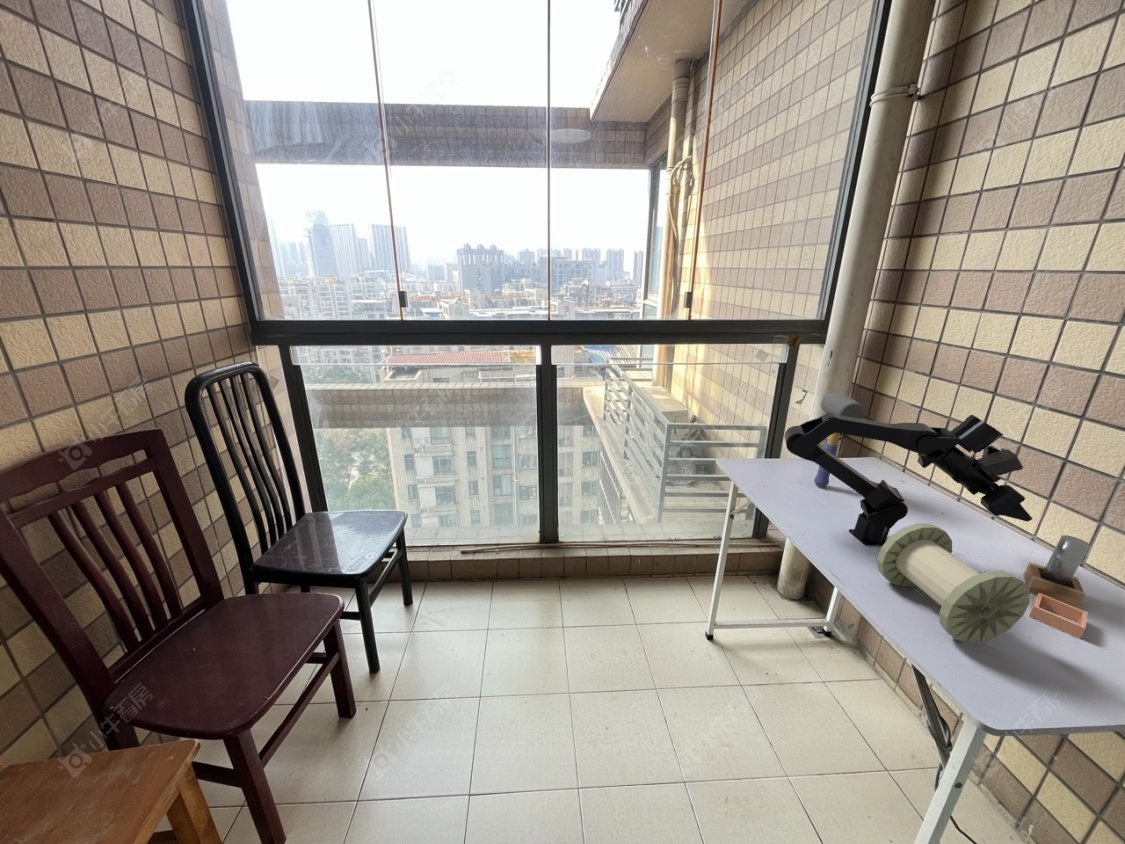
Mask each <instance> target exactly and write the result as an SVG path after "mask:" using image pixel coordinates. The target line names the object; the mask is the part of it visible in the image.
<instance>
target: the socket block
mask: <svg viewBox="0 0 1125 844" xmlns="http://www.w3.org/2000/svg"><path fill="white" fill-rule="evenodd" d="M1088 614H1089V612H1087V611H1086V610H1082V609H1080V608H1075V607H1073V606H1070V605H1068V604H1066V603H1063V602H1061V601H1058V600H1056V599H1053V598H1051V597H1048V596H1046V595H1044V594H1041V593H1038V595H1036V597H1035V598H1034V601H1033V603H1032V606H1031V609H1030V612H1029V614H1028V615H1029V616H1028V617H1029V618H1031V619H1034V620H1036V621H1038V622H1041V623H1043V624H1045V625H1047V626H1050V627H1052V628H1054V629H1056V630H1058V631H1061V632H1063V633H1066V634H1068V635H1070V636H1073V638H1074V637H1075V638H1077V639H1081V637H1082V635H1083V633H1084V632H1085V630H1086V627H1087V620H1088Z"/></svg>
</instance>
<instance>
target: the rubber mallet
mask: <svg viewBox="0 0 1125 844" xmlns="http://www.w3.org/2000/svg"><path fill="white" fill-rule="evenodd" d="M820 406H821V409H822V410H823V412H825V414H827V413H834V414H836V415H841V416H847V417H853V418H859V419H864V418H863V417H864V416H865V408H864V406H863V405H862V404H860V403H859V402H858V401H856V400H855V399H854V398H852V397H850V396H848V395H846V394H844V393H840V392H837V391H833V392H832V391H831V392H828V393H827V394H825V395H824V396H823V397H822V398H821V401H820ZM840 434H841V433H833V434H831V435H830V436H828V439H827V441H826V443H825V445H824V446H823V448H825V449H826V450H827V451H829V452H830V453H832V454H833V455H835V456H836V457H837V451H838V442H839V438H840ZM830 475H831V473H829V472H828V471H826V470H825V469H823V468H822V467H821V466H819V465H818V469H817V474H816V476H815V477H814V479H813V480H814V481H813V482H814V484H815V486H817V487H818V488H826V487H827V486H828V485H829V484H830Z"/></svg>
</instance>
